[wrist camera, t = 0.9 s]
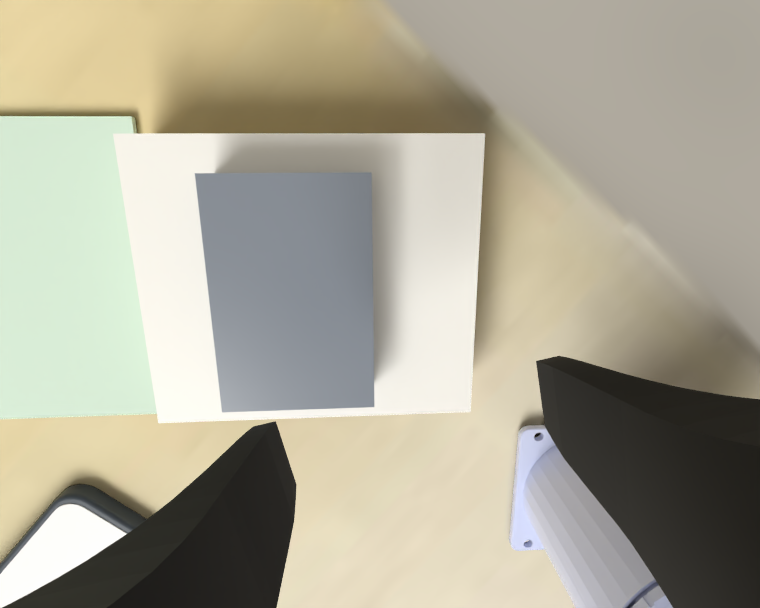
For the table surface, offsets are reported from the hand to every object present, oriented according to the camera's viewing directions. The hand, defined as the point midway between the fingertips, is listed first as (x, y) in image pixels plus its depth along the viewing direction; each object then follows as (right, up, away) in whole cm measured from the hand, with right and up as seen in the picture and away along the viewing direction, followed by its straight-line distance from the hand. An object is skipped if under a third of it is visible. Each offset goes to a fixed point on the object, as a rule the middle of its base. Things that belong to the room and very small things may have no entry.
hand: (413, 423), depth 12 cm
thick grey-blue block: (-4, +4, +6) cm, 9 cm away
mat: (-19, +4, +8) cm, 22 cm away
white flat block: (-4, +5, +9) cm, 11 cm away
